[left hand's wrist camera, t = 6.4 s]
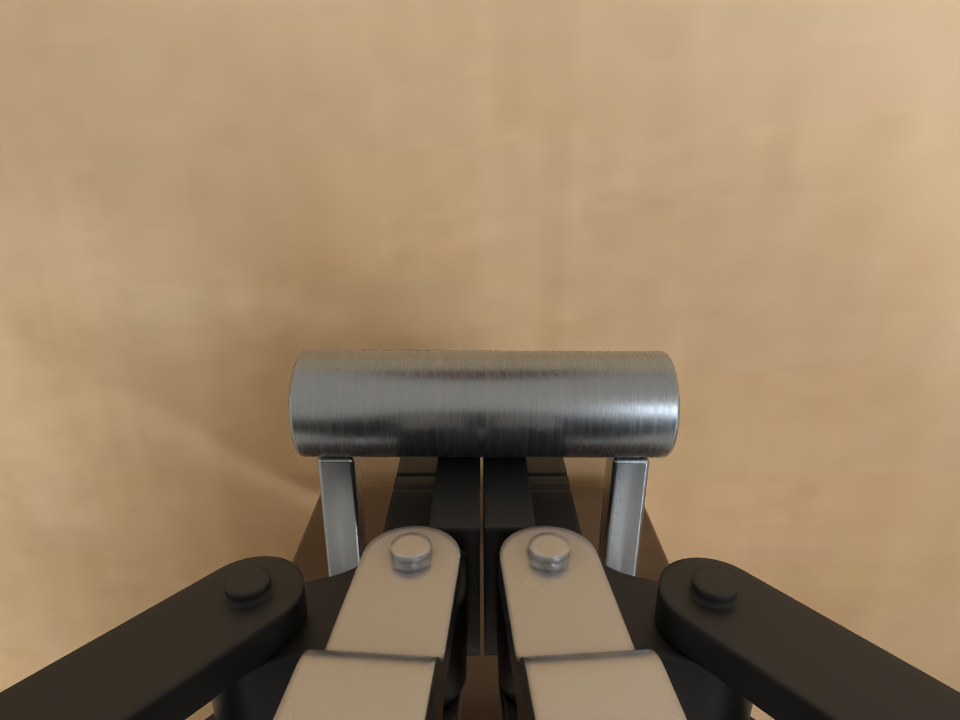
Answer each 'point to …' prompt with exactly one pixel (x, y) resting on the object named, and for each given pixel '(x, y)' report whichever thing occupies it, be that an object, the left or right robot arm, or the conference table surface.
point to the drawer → (482, 446)
